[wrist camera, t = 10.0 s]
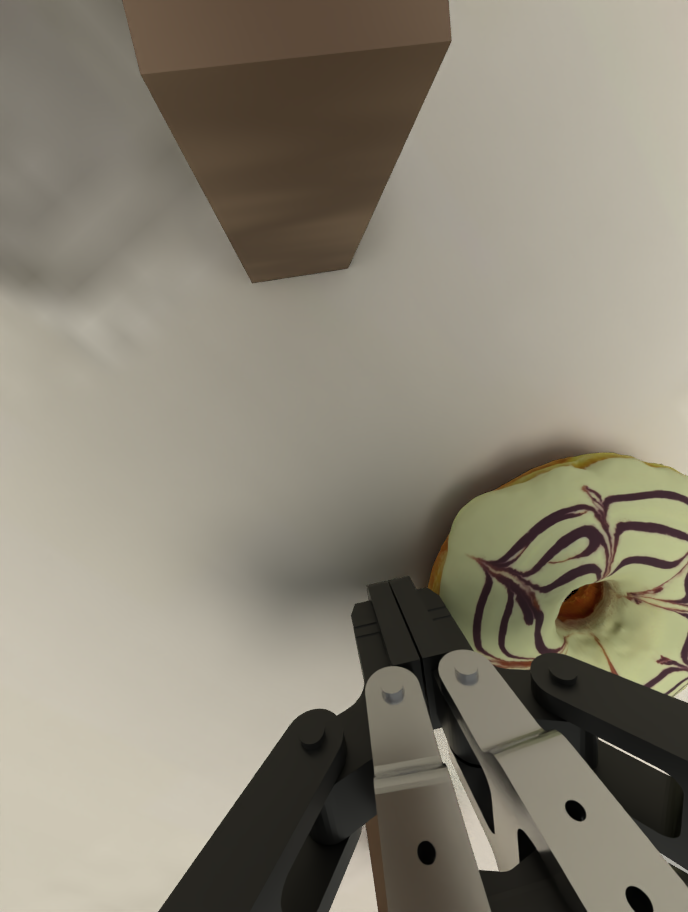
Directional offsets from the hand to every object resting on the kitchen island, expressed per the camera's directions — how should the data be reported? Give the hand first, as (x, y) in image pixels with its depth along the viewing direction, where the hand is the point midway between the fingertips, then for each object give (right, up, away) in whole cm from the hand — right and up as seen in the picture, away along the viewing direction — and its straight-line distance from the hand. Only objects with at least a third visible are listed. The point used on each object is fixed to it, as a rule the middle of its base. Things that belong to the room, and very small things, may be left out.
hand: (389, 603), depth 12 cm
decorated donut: (+7, 0, +3) cm, 7 cm away
